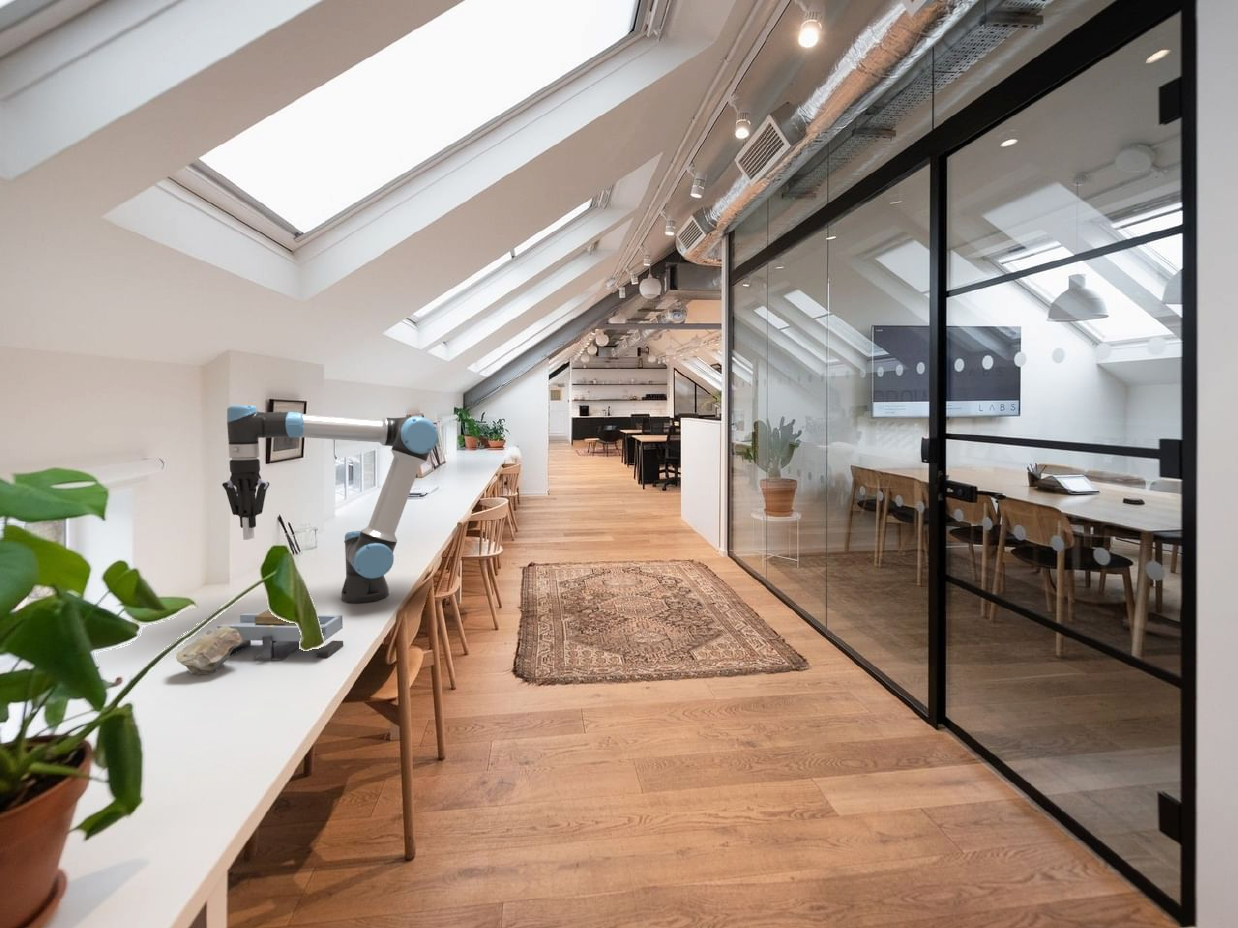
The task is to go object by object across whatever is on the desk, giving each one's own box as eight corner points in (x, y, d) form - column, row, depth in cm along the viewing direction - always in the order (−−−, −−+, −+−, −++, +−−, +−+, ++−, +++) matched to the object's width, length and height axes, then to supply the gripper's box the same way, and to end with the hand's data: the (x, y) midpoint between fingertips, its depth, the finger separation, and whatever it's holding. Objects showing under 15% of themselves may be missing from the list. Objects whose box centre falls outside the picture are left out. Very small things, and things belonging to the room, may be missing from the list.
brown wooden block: (269, 623, 167) (269, 609, 167) (298, 624, 167) (297, 609, 167) (255, 631, 161) (254, 616, 161) (285, 632, 161) (284, 617, 161)
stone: (231, 679, 147) (229, 639, 146) (165, 684, 145) (162, 642, 144) (250, 661, 158) (248, 623, 157) (188, 665, 155) (186, 626, 155)
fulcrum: (246, 640, 172) (245, 617, 172) (348, 642, 171) (347, 619, 170) (212, 659, 159) (211, 635, 158) (322, 662, 157) (321, 637, 157)
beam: (245, 625, 171) (244, 612, 170) (344, 627, 169) (343, 613, 169) (216, 640, 159) (215, 626, 159) (321, 642, 158) (321, 628, 158)
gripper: (213, 459, 176) (218, 541, 178) (258, 459, 175) (262, 541, 177) (231, 457, 183) (235, 535, 185) (274, 457, 183) (278, 536, 185)
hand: (248, 538), depth 181 cm, fingers closed
